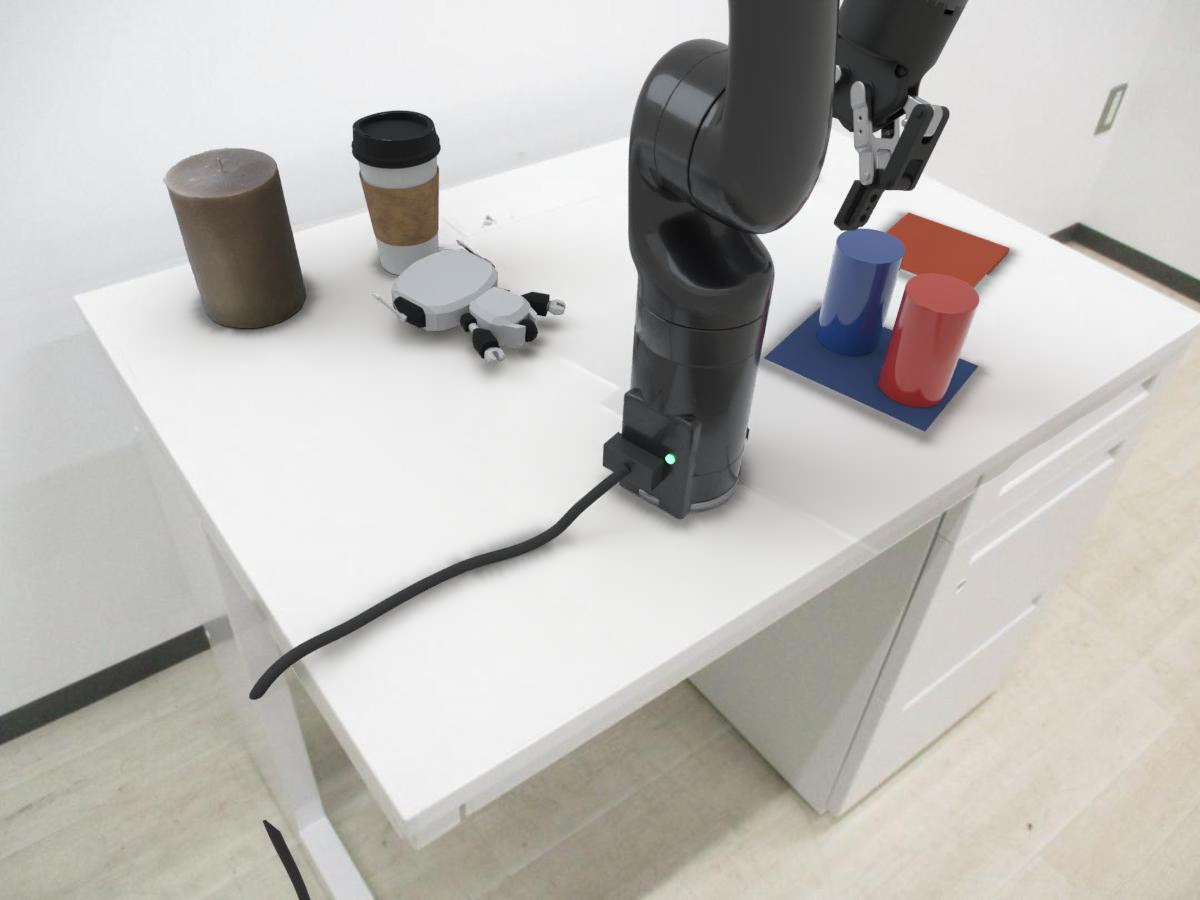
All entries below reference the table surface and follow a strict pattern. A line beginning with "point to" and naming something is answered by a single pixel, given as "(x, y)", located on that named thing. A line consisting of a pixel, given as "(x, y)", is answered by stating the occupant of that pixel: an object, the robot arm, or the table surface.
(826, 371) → the blue mat
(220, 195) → the pillar candle
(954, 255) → the red mat
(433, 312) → the robot toy
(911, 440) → the table surface
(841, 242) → the blue glossy cylinder
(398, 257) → the coffee cup
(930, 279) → the red glossy cylinder
